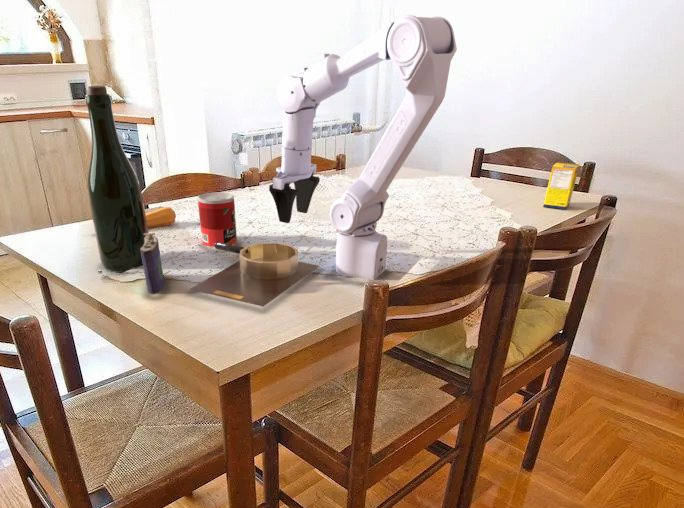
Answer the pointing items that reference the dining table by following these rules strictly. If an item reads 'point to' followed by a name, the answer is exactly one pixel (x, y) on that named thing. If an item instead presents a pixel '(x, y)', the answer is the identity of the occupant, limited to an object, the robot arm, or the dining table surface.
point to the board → (250, 284)
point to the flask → (152, 264)
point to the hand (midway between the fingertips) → (293, 216)
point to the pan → (265, 260)
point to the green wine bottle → (113, 190)
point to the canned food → (217, 218)
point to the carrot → (160, 217)
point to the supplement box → (561, 185)
